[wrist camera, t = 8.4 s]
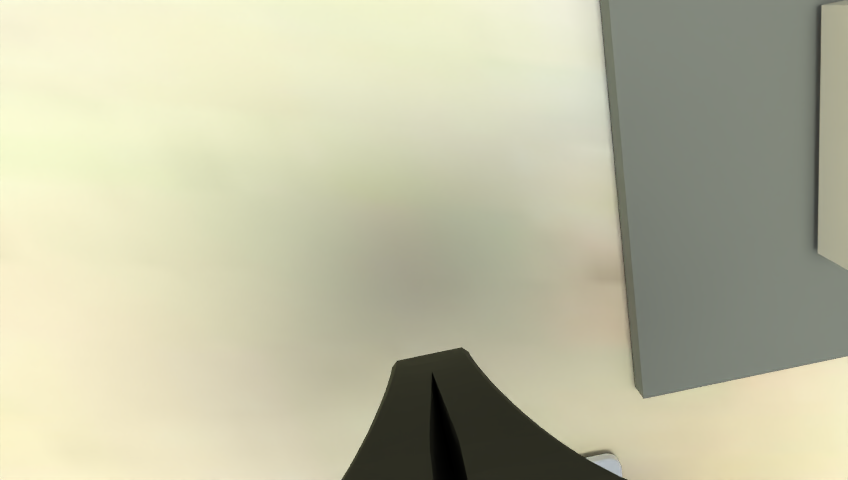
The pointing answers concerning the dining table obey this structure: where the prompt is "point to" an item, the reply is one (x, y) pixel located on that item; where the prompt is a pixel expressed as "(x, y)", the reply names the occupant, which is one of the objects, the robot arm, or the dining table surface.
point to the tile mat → (720, 188)
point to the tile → (833, 135)
